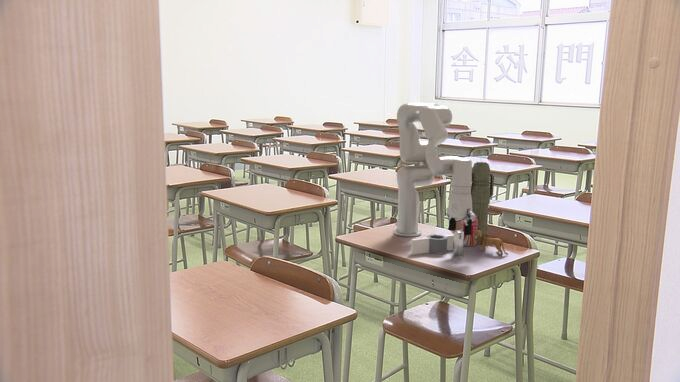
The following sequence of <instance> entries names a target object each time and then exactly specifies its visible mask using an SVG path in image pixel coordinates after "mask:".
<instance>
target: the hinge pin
mask: <svg viewBox="0 0 680 382" xmlns="http://www.w3.org/2000/svg"><path fill="white" fill-rule="evenodd" d="M453 235H454V238H453V250H452V256H453V257H455V258H463V255H464V246H463V242H464V231H460V229H458V230H453Z"/></svg>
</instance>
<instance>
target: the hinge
mask: <svg viewBox="0 0 680 382" xmlns="http://www.w3.org/2000/svg"><path fill="white" fill-rule="evenodd" d="M453 238H454V234H449V235H448V234H447V235H443V234H435V233H434V234H428V235H427V236H426V237H422V238H414V239H413V238H412V239H411V244H410V246H411V247H410V254H411V255H412V256H413V255H420V254H428V253H429V254H434V255H441V254H446V253H447V251H453Z"/></svg>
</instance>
